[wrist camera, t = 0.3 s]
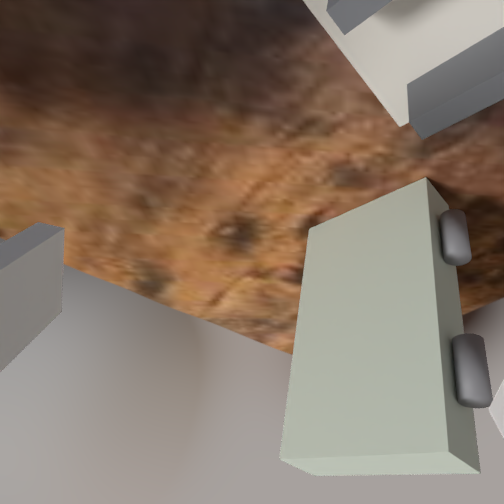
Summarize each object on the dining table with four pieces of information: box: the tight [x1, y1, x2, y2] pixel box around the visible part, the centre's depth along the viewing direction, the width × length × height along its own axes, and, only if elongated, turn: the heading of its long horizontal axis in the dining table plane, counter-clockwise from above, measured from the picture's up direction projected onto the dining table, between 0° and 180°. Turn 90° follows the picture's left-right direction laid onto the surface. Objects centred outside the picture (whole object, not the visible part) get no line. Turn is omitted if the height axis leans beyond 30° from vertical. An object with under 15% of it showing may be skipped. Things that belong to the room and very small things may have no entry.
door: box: [279, 177, 493, 476], centre depth 26 cm, size 10×3×16 cm, turn 134°
